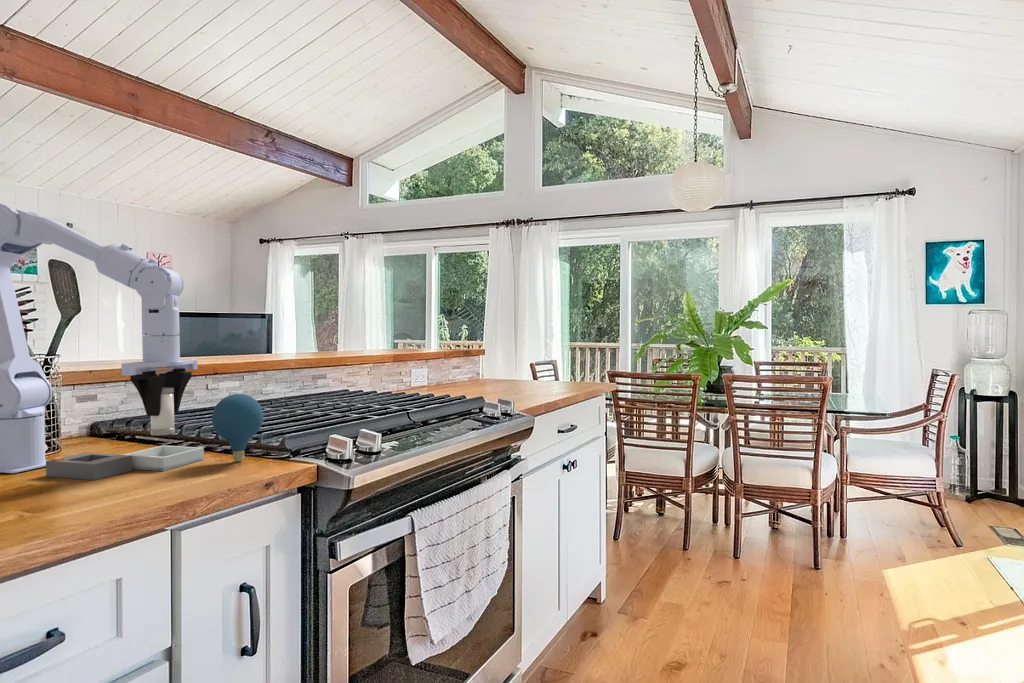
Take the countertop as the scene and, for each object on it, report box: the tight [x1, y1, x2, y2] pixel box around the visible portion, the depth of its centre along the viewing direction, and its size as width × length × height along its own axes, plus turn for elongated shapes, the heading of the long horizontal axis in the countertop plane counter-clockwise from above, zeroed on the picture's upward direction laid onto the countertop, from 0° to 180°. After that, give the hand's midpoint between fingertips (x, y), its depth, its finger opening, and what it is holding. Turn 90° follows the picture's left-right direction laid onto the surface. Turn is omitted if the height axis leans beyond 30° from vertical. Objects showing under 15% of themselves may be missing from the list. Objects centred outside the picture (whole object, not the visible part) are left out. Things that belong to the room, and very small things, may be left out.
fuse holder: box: [45, 452, 133, 481], centre depth 105 cm, size 10×7×3 cm
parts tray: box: [122, 444, 205, 472], centre depth 112 cm, size 9×9×2 cm
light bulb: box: [211, 393, 264, 463], centre depth 114 cm, size 8×8×12 cm
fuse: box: [150, 387, 176, 436], centre depth 112 cm, size 4×4×8 cm
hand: (162, 413), depth 112 cm, fingers closed on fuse, 4 cm apart
